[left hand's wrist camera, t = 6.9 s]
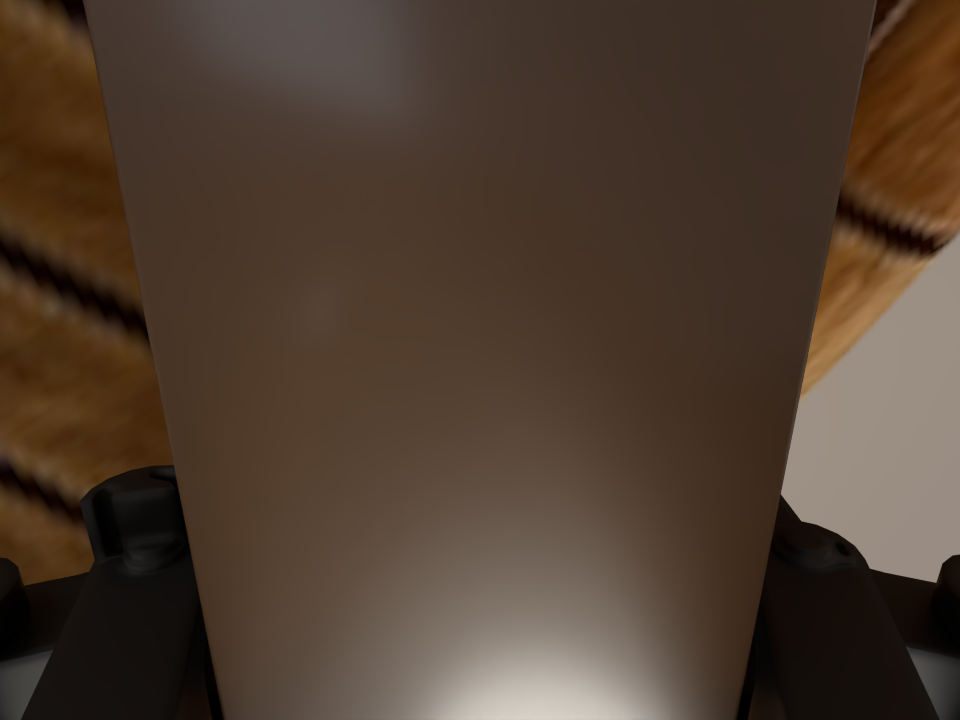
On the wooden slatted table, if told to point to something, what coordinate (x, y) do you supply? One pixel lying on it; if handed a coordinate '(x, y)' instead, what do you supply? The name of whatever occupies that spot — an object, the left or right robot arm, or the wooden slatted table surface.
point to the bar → (480, 334)
